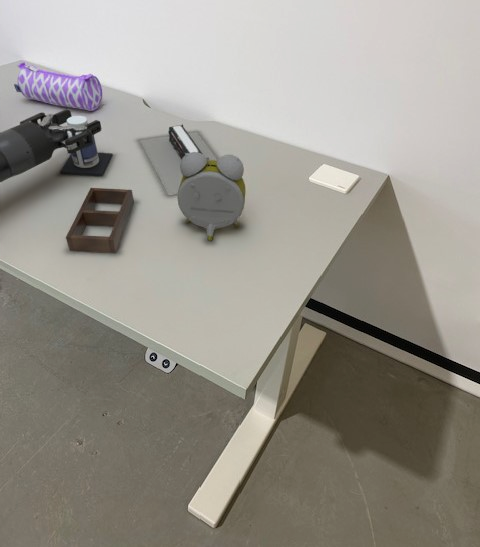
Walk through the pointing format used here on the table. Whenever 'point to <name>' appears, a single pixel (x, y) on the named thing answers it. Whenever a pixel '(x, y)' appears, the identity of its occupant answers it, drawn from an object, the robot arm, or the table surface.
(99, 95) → the pencil case
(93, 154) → the pill bottle
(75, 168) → the rubber pad
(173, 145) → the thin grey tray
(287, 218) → the table surface
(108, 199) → the bottle holder
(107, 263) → the table surface
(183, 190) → the alarm clock
